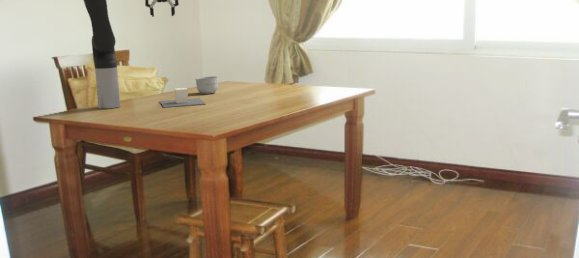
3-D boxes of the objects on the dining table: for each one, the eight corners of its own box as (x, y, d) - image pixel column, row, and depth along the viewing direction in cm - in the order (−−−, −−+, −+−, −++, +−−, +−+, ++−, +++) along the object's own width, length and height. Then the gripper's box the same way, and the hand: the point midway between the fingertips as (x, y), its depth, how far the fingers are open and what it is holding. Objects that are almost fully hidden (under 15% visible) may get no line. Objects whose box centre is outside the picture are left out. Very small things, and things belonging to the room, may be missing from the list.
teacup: (207, 95, 290) (206, 78, 288) (191, 94, 296) (190, 77, 294) (227, 91, 300) (226, 75, 299) (211, 90, 307) (210, 74, 305)
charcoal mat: (163, 107, 256) (163, 106, 256) (159, 101, 273) (159, 101, 273) (205, 104, 261) (205, 103, 261) (199, 99, 278) (199, 98, 278)
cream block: (176, 103, 264) (175, 89, 263) (175, 101, 269) (174, 88, 267) (188, 102, 265) (187, 89, 264) (186, 101, 270) (185, 87, 269)
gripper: (144, -22, 257) (146, 17, 260) (177, -23, 261) (180, 15, 264) (142, -21, 264) (145, 16, 267) (175, -22, 268) (178, 15, 271)
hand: (162, 16), depth 266 cm, fingers open, 8 cm apart
